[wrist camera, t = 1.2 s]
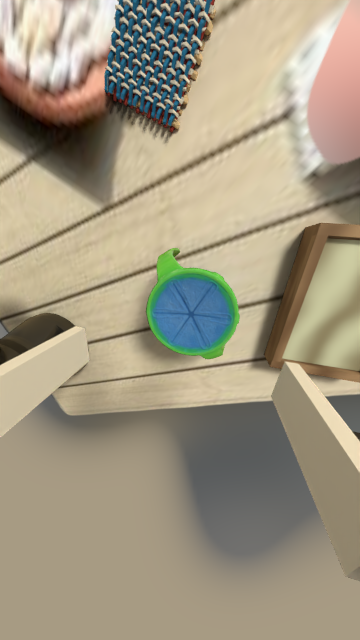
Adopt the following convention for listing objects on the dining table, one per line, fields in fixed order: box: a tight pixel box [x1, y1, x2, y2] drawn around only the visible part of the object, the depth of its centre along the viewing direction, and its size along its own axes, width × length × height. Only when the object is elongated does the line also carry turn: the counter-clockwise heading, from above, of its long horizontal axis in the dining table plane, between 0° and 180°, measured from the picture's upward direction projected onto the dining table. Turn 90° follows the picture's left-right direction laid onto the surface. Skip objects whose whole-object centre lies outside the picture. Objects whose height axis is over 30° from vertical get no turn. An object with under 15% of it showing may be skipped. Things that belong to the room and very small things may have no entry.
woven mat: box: [104, 0, 216, 132], centre depth 18 cm, size 10×11×2 cm
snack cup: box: [146, 248, 240, 359], centre depth 23 cm, size 16×10×10 cm
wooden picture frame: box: [264, 223, 360, 382], centre depth 23 cm, size 14×20×4 cm
